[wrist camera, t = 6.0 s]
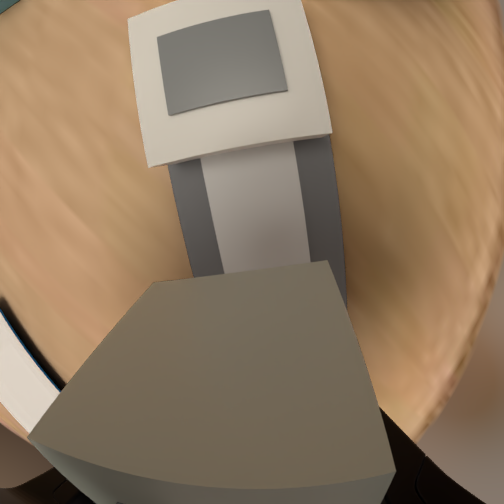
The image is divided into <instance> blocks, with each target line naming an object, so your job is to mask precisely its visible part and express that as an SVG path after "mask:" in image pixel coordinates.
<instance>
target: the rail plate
mask: <svg viewBox="0 0 504 504" xmlns="http://www.w3.org/2000/svg"><path fill="white" fill-rule="evenodd" d="M168 169H169V174H170V179H171V183H172V188H173V193H174V197H175V202H176V206H177V211H178V215H179V220H180V224H181V228H182V232H183V236H184V241H185V245H186V249H187V253H188V257H189V261H190V265H191V268H192V272H193V276H194V278H196V277H204V276H212V275H220V274H228V273H236V272H244V271H251V270H259V269H266V268H274V267H281V266H289V265H296V264H303V263H310V262H317V261H324V260H328V263H329V265H330V268H331V270H332V273H333V275H334V278H335V280H336V283H337V286H338V288H339V291H340V293H341V296H342V299H343V301H344V304H345V307H346V309H347V294H346V275H345V260H344V247H343V235H342V225H341V215H340V206H339V197H338V189H337V182H336V174H335V167H334V161H333V154H332V148H331V142H330V136H329V135H326V136H324V137H321V138H313V139H305V140H298V141H291V142H284V143H277V144H271V145H265V146H259V147H253V148H247V149H242V150H236V151H231V152H226V153H221V154H216V155H212V156H207V157H202V158H198V159H194V160H189V161H185V162H181V163H177V164H171V165H168Z"/></svg>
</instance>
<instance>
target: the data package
mask: <svg viewBox="0 0 504 504" xmlns="http://www.w3.org/2000/svg"><path fill="white" fill-rule="evenodd" d="M18 1H19V0H0V14H1V13H2V12H3V11H5V10H6V9H8V8H9V7H10V6H12V5H13V4H15V3H16V2H18Z"/></svg>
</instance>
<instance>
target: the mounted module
mask: <svg viewBox="0 0 504 504" xmlns="http://www.w3.org/2000/svg"><path fill="white" fill-rule="evenodd" d="M128 30H129V42H130V52H131V62H132V70H133V78H134V86H135V93H136V100H137V107H138V114H139V120H140V126H141V132H142V137H143V143H144V148H145V154H146V159H147V164H148V168H150V167H157V166H164V165H171V164H177V163H181V162H185V161H189V160H194V159H198V158H202V157H207V156H212V155H216V154H221V153H226V152H231V151H236V150H242V149H247V148H253V147H259V146H265V145H271V144H277V143H284V142H291V141H298V140H305V139H313V138H321V137H324V136H326V135H329V134H331V133H333V132H332V126H331V121H330V115H329V110H328V105H327V100H326V95H325V91H324V86H323V81H322V77H321V73H320V68H319V64H318V60H317V56H316V52H315V48H314V44H313V40H312V37H311V33H310V29H309V26H308V22H307V19H306V15H305V12H304V9H303V5H302V2H301V0H177V1H174V2H171V3H168V4H165V5H162V6H159V7H157V8H154V9H151V10H149V11H146V12H144V13H141V14H139V15H136V16H134V17H131V18H129V19H128Z"/></svg>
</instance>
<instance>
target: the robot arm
mask: <svg viewBox="0 0 504 504" xmlns="http://www.w3.org/2000/svg"><path fill="white" fill-rule="evenodd" d="M379 409H380V412H381V416H382V419H383V423H384V426H385V430H386V434H387V437H388V441H389V445H390V449H391V453H392V457H393V461H394V465H395V469H396V473H395V475H394V477H393V479H392V481H391V484H390V486H389V488H388V490H387V492H386V494H385V496H384V498H383V500H382V502H381V504H486V503H484V502H483V501H481V500H480V499H478V498H477V497H475V496H474V495H473V494H471V493H470V492H469V491H467V490H466V489H464V488H463V487H462V486H460V485H459V484H458V483H456V482H455V481H454V480H452V479H451V478H450V477H449V476H447V475H446V474H445V473H444V472H443V471H442V470H441V469H440V468H439V467H438V466H437V465H436V464H435V463H434V462H433V461H432V460H431V459H430V458H429V457H428V456H426V457H425V453H424V452H423V451H422V450H421V449H420V448H419V447H418V446H417V445H416V444H415V443H414V442H413V441H412V440H411V439H410V438H409V437H408V436H407V435H406V434H405V433H404V432H403V431H402V430H401V429H400V428H399V427H398V426H397V425H396V424H395V422H394V421H393V420H392V419H391V418H390V417H389V416H388V415H387V414H386V413H385V412H384V411H383V410H382V409H381V408H380V407H379ZM0 504H96V503H95V502H94V501H93V500H91V499H90V498H89V497H88V496H86V495H85V494H84V493H83V492H82V491H80V490H79V489H78V488H77V487H76V486H75V485H73V484H72V483H71V482H70V481H69V480H68V479H67V478H66V477H65V476H64V475H62V474H61V473H60V472H59V471H58V470H57V469H56V468H55V467H53V468H51V469H50V470H48V471H46V472H44V473H43V474H41V475H39V476H37V477H35V478H33V479H31V480H29V481H28V482H26V483H24V484H22V485H19V486H17V487H13V488H0Z"/></svg>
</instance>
